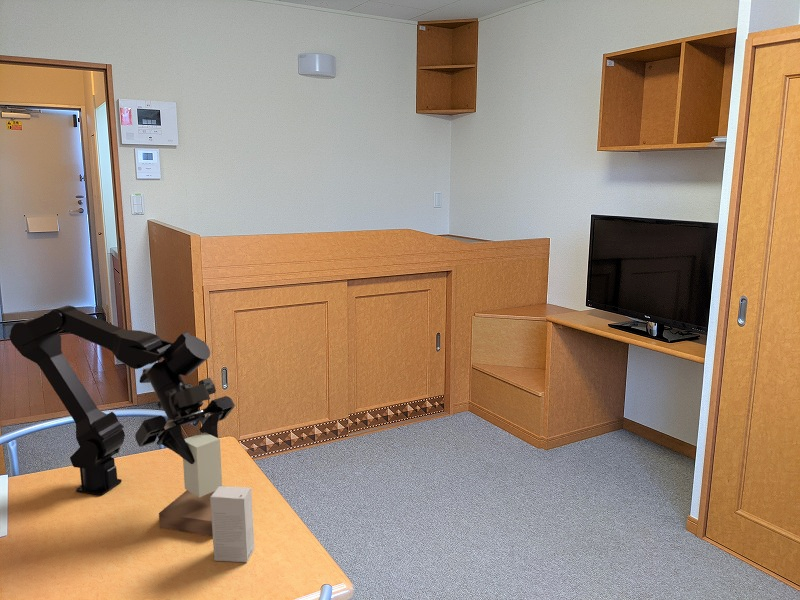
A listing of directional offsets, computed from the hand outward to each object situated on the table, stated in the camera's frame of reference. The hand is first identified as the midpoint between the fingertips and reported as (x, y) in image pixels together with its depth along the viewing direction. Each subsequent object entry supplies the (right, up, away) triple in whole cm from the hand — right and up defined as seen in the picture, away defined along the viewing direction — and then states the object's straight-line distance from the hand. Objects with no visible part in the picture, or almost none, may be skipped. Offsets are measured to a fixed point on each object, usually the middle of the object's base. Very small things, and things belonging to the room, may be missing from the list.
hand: (205, 458), depth 124 cm
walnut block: (-1, -13, +4) cm, 13 cm away
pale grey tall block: (-1, -6, +2) cm, 7 cm away
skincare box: (+8, -15, -9) cm, 19 cm away
